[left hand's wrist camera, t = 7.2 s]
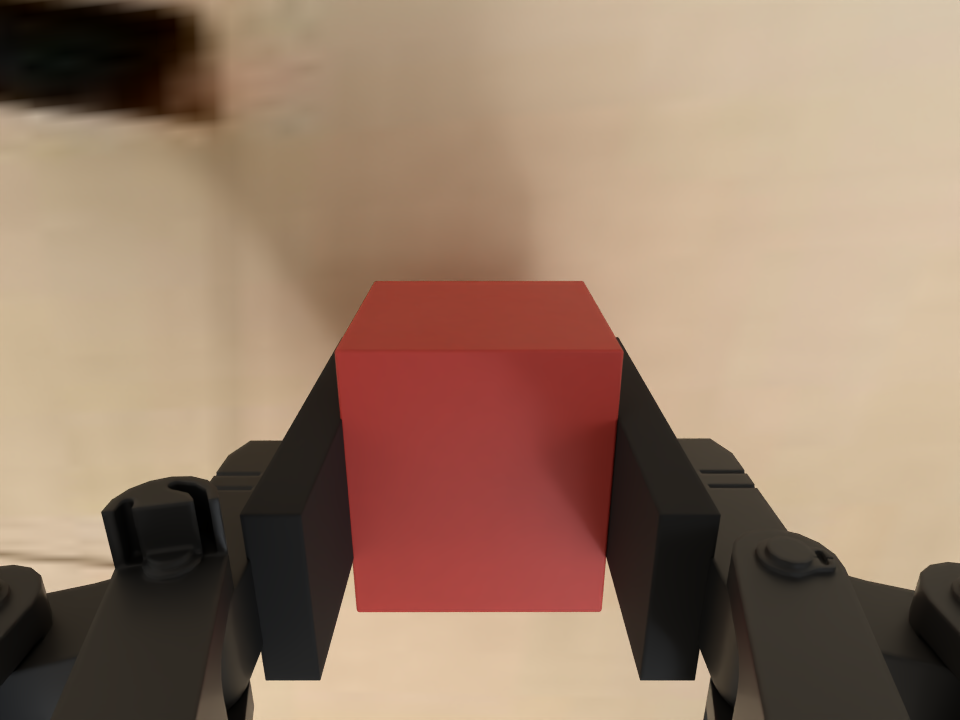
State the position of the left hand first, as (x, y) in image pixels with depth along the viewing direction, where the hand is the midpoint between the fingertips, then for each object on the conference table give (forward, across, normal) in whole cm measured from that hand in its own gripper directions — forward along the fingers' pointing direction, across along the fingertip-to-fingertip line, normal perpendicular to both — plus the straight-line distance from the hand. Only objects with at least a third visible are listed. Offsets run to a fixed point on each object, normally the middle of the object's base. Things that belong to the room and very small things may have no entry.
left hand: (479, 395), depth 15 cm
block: (0, 0, 0) cm, 0 cm away
